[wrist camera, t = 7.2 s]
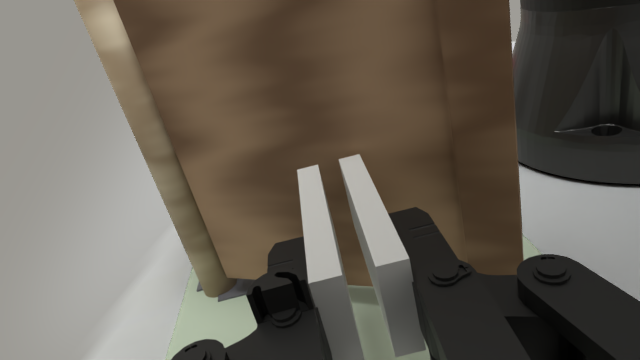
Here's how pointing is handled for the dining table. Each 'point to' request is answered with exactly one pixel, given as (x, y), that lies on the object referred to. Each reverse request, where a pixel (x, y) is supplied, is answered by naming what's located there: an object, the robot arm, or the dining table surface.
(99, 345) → the dining table surface
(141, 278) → the dining table surface
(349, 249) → the walnut panel
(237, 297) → the card
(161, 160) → the birch fence section
